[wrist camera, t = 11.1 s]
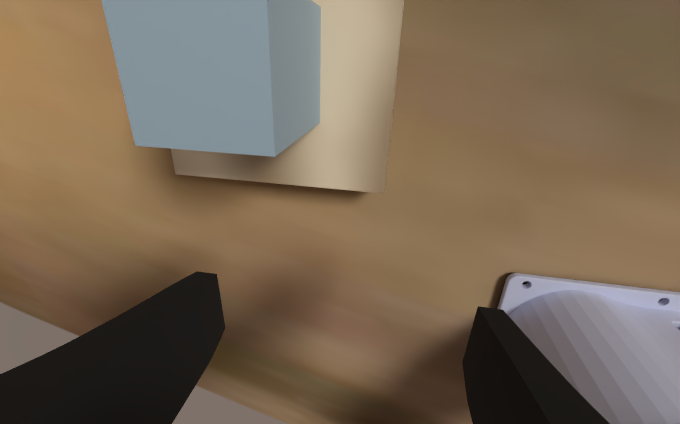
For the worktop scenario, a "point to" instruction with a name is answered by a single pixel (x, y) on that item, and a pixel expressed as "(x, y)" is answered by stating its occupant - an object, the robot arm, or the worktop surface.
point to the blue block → (218, 72)
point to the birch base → (332, 109)
